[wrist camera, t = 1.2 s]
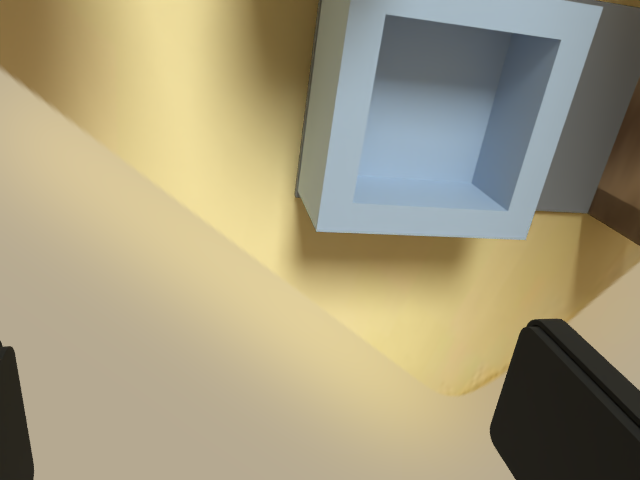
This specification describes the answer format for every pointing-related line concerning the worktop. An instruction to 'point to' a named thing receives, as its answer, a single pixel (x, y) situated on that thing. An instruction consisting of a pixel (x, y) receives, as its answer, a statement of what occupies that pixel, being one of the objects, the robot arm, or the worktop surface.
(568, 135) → the mat
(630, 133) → the backstop
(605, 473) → the robot arm
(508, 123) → the holder
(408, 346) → the worktop surface
